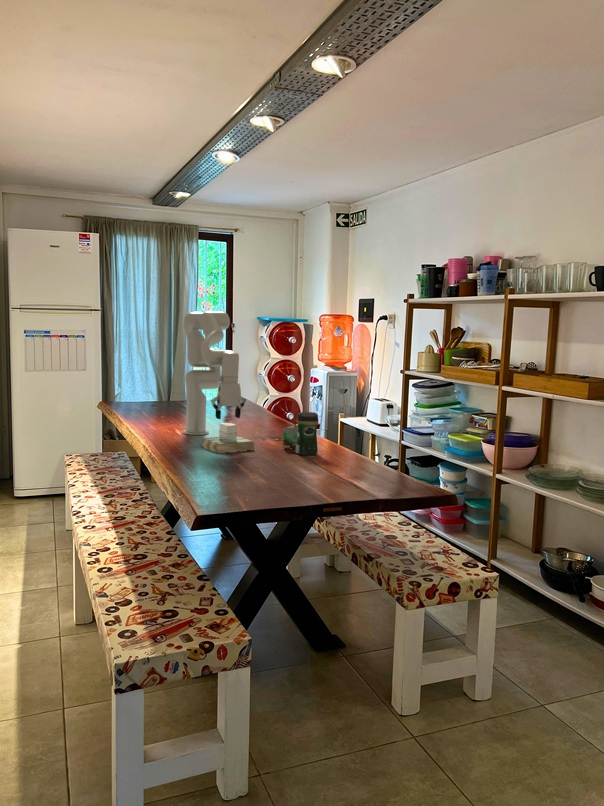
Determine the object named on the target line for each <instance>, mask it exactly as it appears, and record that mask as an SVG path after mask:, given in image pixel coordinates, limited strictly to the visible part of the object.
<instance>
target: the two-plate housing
mask: <svg viewBox="0 0 604 806" xmlns="http://www.w3.org/2000/svg"><path fill="white" fill-rule="evenodd" d="M218 426H219V431H218V433H219V435H218V437H219V439H221V440H224V441H237V436H238V425H237V424H236V423H232V422H220V423H219V425H218Z"/></svg>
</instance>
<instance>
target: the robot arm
mask: <svg viewBox="0 0 604 806" xmlns="http://www.w3.org/2000/svg"><path fill="white" fill-rule="evenodd" d="M230 323H231V320H230V317H229V314H228V313H227V312H225V311H215V310H206V311H203V312H202V311H192V312H191V311H190V312H188V313H186V314H185V316H184V319H183V327H184V331H185V336H186V339H187V360H188V365H189V366H190V367H193V368H208V369H193V370H192V369H191V370H189V371H187V372H186V375H185V377H184V378H185V381H184V382H185V387H186V422H185V423H186V424H185V427H186V428H185V429H183V430H182V433H183V434H185V435H188V434H189V436H201V435H202V436H204V435H208V434H209V430H208V429H207V426H206V424H207V421H206V420H207V397H206V395H205V393H204V392H203V390H215V389H216V390H217V395H216V396H215V397H213V398H212V399H210V403H211V406H212V407H213V408H214V410H215V419H217V420H221V419H222V416H221V414H222V410H221V409H222V407H234V406H235V409H234V411H235V413H234V417H235V418H237V419H240V417H241V412H242V411H241V410H242V409H243V407H245V404H246V402H247V399H246V398H245V397H243V396H242V391H241V384H240V383H239V367H240V366H239V364H240V355H239V353H238V352H236V351H233V350H229V349H217V348H213V346H215V345H216V344H219V343H220V342H222V341H223V339H224V337H225V336H224V335H225V334H224V331H225V330H227V329H229V327H230ZM201 330H202V332H203V333H202V332H201ZM211 347H212V348H211ZM216 403H217V404H216Z"/></svg>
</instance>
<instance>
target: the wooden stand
mask: <svg viewBox="0 0 604 806" xmlns="http://www.w3.org/2000/svg"><path fill="white" fill-rule="evenodd" d="M203 447H204V449H206V450H208V449H209V451H211V452H213V451H214V452H213V453H216V452H217V453H216V454H226V453H225V452H229V453H237V451H240V452H248V451H247V450H251V451H254V450H255V441H253V440H250V439H247V438H245V437H241V436H238V435H237V441H224V440H221V439H219V436H214V437H211V436H210V437H203V438H201V448H203Z"/></svg>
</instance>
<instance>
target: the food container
mask: <svg viewBox="0 0 604 806" xmlns="http://www.w3.org/2000/svg"><path fill="white" fill-rule="evenodd" d="M282 432H283V433H282V437H283V439H282V444H283V445H282V449H283V448H286V449H285V450H290V449H289V448H295V449H296V441H297V433H298V425H297V424H294V423H293V424H292V423H291V424H290V423H288V426H286V427H283V429H282ZM287 448H288V449H287Z"/></svg>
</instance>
